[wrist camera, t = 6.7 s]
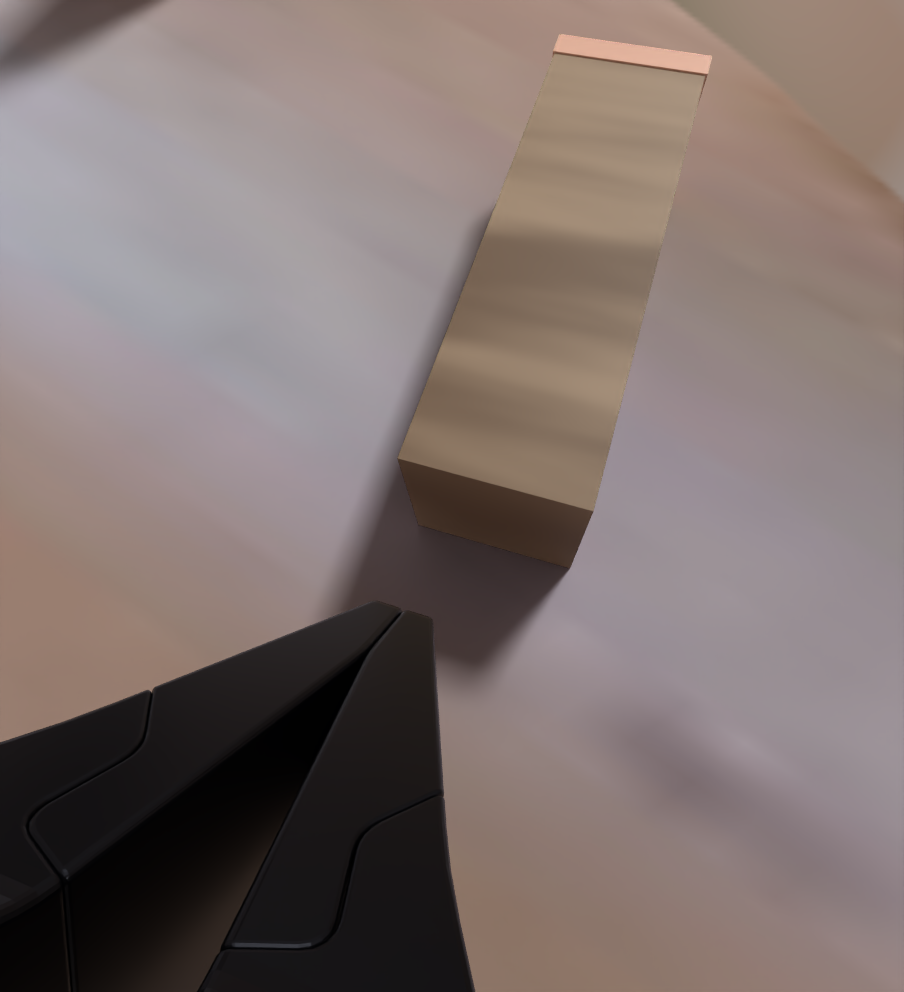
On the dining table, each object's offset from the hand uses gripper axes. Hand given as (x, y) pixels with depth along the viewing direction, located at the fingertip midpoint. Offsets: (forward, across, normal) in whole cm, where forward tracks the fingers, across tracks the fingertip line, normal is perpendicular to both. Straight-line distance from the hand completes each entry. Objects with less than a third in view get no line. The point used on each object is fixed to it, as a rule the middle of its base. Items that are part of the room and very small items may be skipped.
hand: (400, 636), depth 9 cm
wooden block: (+8, 0, +1) cm, 8 cm away
